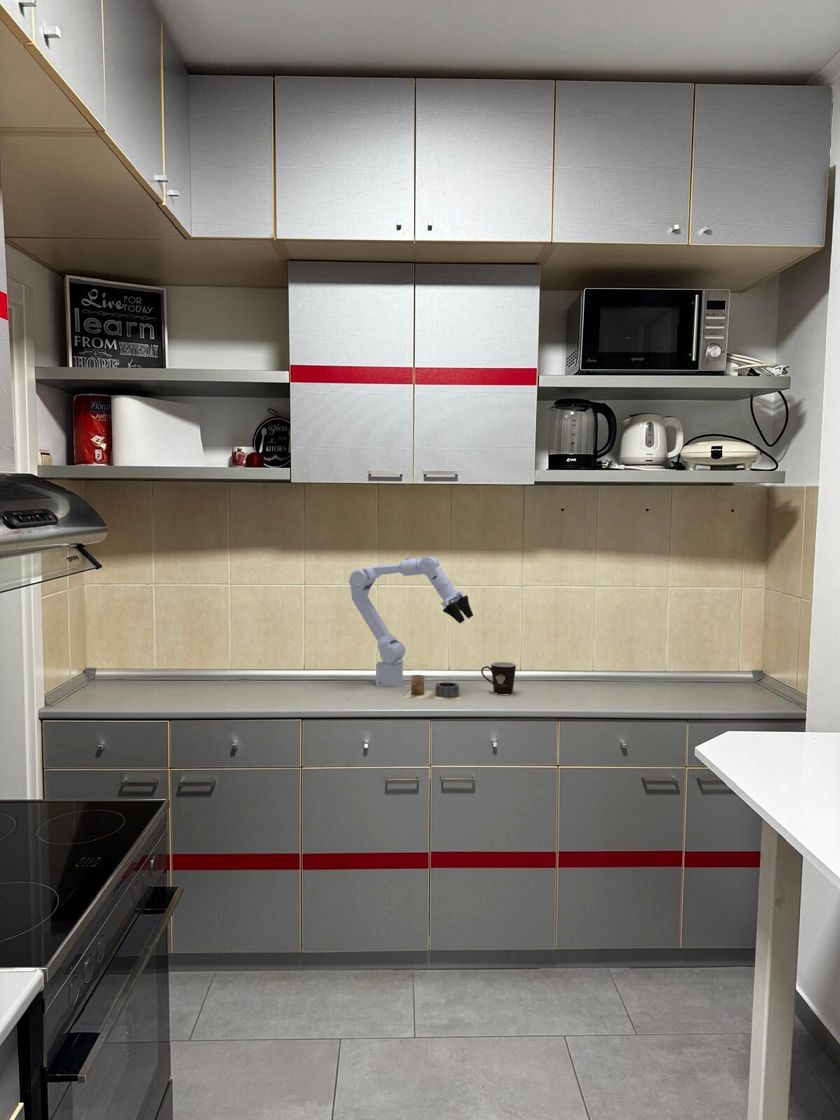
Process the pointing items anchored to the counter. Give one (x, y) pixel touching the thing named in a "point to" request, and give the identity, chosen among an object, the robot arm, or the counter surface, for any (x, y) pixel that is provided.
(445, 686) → the sleeve
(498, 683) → the coffee mug
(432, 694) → the board
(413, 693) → the plug
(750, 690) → the counter surface
